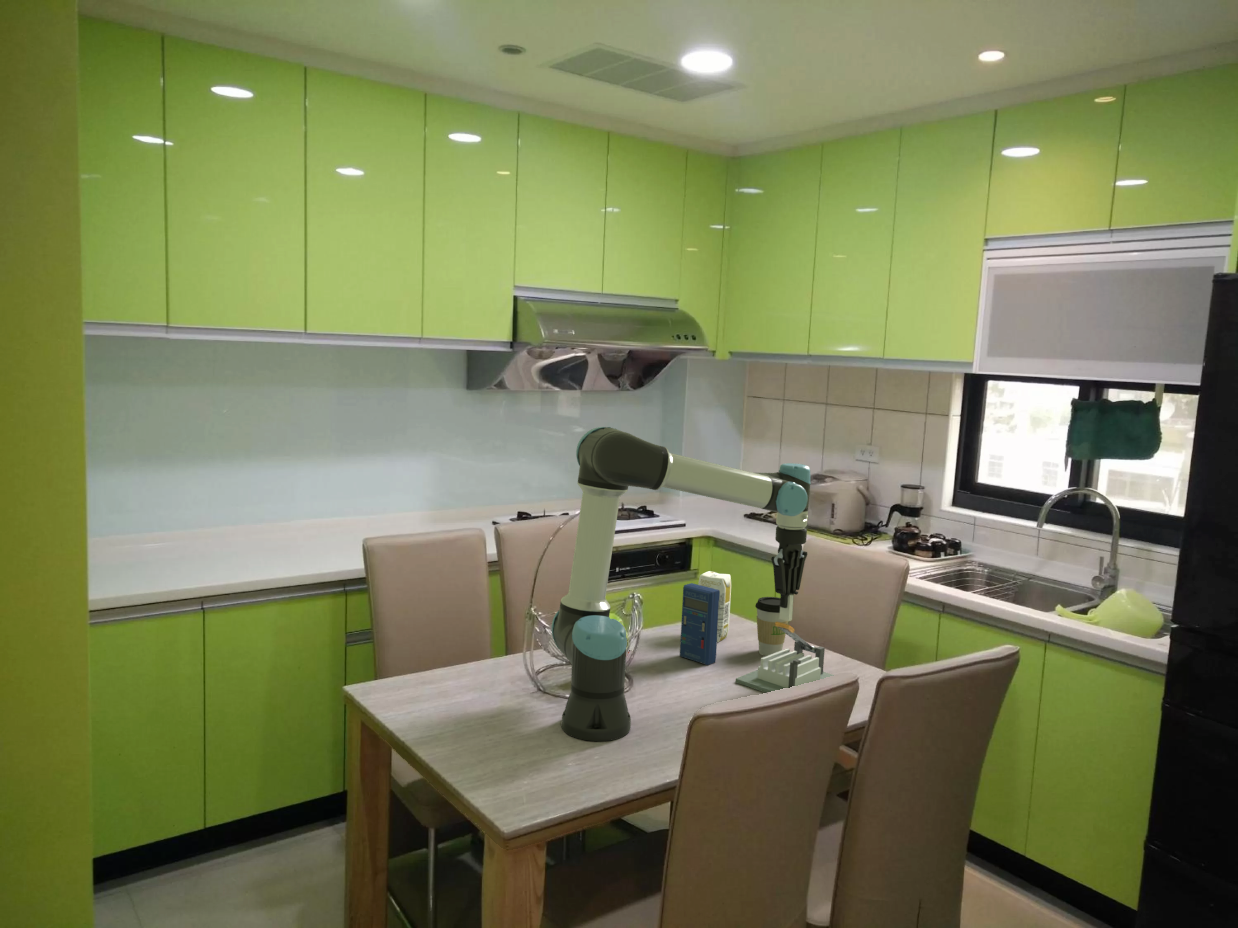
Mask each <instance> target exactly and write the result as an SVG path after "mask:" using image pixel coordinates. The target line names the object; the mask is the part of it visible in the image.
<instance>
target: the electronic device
mask: <svg viewBox="0 0 1238 928" xmlns="http://www.w3.org/2000/svg"><path fill="white" fill-rule="evenodd" d="M719 596H720V591H719V590H717V589H713V588H709V587H705V586H701V585H698V583H697V584H696V583H693V582H691V583H687V584H684V585H683V587H682V606H681V607H682V608H681V621H680V622H681V623H680V624H681V625H680V645H679V657H682V658H684V659H688V660H691V661H694V662H697V663H700V664H703V665H706V666H709V665H711V664H715V663H716V660H717V647H718V646H717V644H718V642H717V625H718V607H719Z"/></svg>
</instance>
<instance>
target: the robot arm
mask: <svg viewBox="0 0 1238 928" xmlns="http://www.w3.org/2000/svg"><path fill="white" fill-rule="evenodd" d="M575 455H576V456H575V457H576V461H577V464H578V466H579V469H578V476H577V477H578V478H577V485H578V487H579V488H580V489H581V491H582V496H581V501H580V503H581V504H580V511H579V516H578V523H577V531H576V536H575V537H576V538H575V545H574V551H573V553H574V554H573V557H572V566H571V572H570V578H569V579H570V580H569V581H570V582H569V586H568V588H569V589H568V593H567V594H565V595H564V596H562V597H561V599H560V602H559V603H560V604H559V610H558V611H556V613H555V614H554V616H553V618H552V621H551V627H550V628H551V631H550V632H551V636H552V639H553V641H554V644H555V646H556V648H557V649H558V650H559V651H560V652H561V653H562V655H564V657H565V658H566V659H567V660H568V662H569V663H570V664H571V673H570V674H571V676H570V679H571V680H570V692H569V696H568V699H567V701H566V704H565V708H564V710H563V712H562V715H561V729H562V731H564V733H566V735H569V736H570V737H573V738H576V739H579V740H584V741H589V742H608V741H614V740H618V739H620V738H623V737H624V736H626V735H628V734H629V733H630V731H631V725H632V724H631V723H632V719H631V715H630V712H629V710H628V703H627V700H626V695H625V679H626V658H627V656H626V647H627V638H626V630H625V627H624V626H623V625H622V624H621V623H620V622H621V621H620V622H619V620H617V619H615V618H610V615H611V613H610V612H611V605H610V603H609V602H608V600H607V598H606V596H607V588H608V582H609V575H610V567H611V560H612V556H613V555H612V553H613V549H614V548H613V547H614V539H615V534H616V527H617V520H618V515H619V507H620V500H621V499H620V498H621V496H623V495H624V494H626V493H627V492H628V490H629V487H634V488H643V489H649V490H652V491H658V490H660V489H661V488H666V489H671V490H675V491H679V492H682V493H683V492H685V493H688V494H694V495H697V496H698V495H699V496H702V497H703V496H704V497H707V498H712V499H716V500H721V501H726V502H729V503H734V504H739V505H744V506H748V507H752V508H757V509H762V510H765V511H770V512H774V513H776V521H775V522H776V525H777V526H776V527H775V537H774V538H775V542H777V543H778V544H779V545H778V549H777V554H776V555H775V556H773V555H772V557H771V558H770V560H771V563H772V566H773V567H772V568H773V580H774V581H773V582H774V591H775V593H776V594H779V595H780V597H779V598H780V617H779V619H782V620H786V621H788V622H791V621H793V611H794V609H793V608H794V607H793V606H794V596H795V595H798V594H799V590H800V588H801V582H802V579H803V578H802V577H803V572H804V568H805V563H806V559H807V557H808V551H804V550H803V545H804V544H806V542H807V538H808V537H807V535H808V534H807V533H808V529H807V528H806V527H807V526H808V520H809V516H808V514H809V505H810V503H809V502H810V490H811V483H812V482H811V469H810V466H808V465H807V464H802V463H793V462H792V463H782V464H780V466H779V470H778V472H751V471H747V470H742V469H738V468H733V467H730V466H726V465H722V464H717V463H714V462H709V461H706V460H705V461H704V460H701V459H698V458H693V457H688V456H684V455H680V454H676V453H671V452H670V451H669V449H668V448H667V447H666V446H661V445H658V444H655V443H652V442H649V441H647V440H644V439H642V438H640V437H637V436H635V435H633V434H631V433H629V432H627V431H622V430H619V429H617V428H613V427H611V426H601V427H598V426H597V427H595V428H593V429H590V430H589V431H586V432H585V433H584V434H583V435H582V437H580V439H579V441H578V443H577V445H576V451H575Z"/></svg>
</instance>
